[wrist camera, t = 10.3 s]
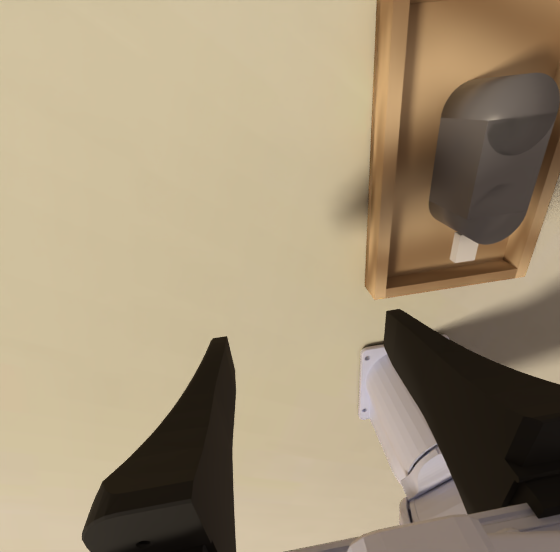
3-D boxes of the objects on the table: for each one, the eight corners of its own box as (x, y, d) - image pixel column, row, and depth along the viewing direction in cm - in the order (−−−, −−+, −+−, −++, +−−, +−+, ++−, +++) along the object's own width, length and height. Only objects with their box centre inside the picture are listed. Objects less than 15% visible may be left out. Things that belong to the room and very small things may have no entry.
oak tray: (504, 264, 25) (524, 276, 23) (364, 285, 24) (374, 299, 23) (590, -32, 16) (633, -48, 15) (377, -11, 16) (395, -26, 14)
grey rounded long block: (468, 244, 23) (509, 269, 20) (421, 251, 23) (454, 277, 19) (505, 75, 18) (570, 68, 14) (445, 82, 18) (497, 76, 14)
